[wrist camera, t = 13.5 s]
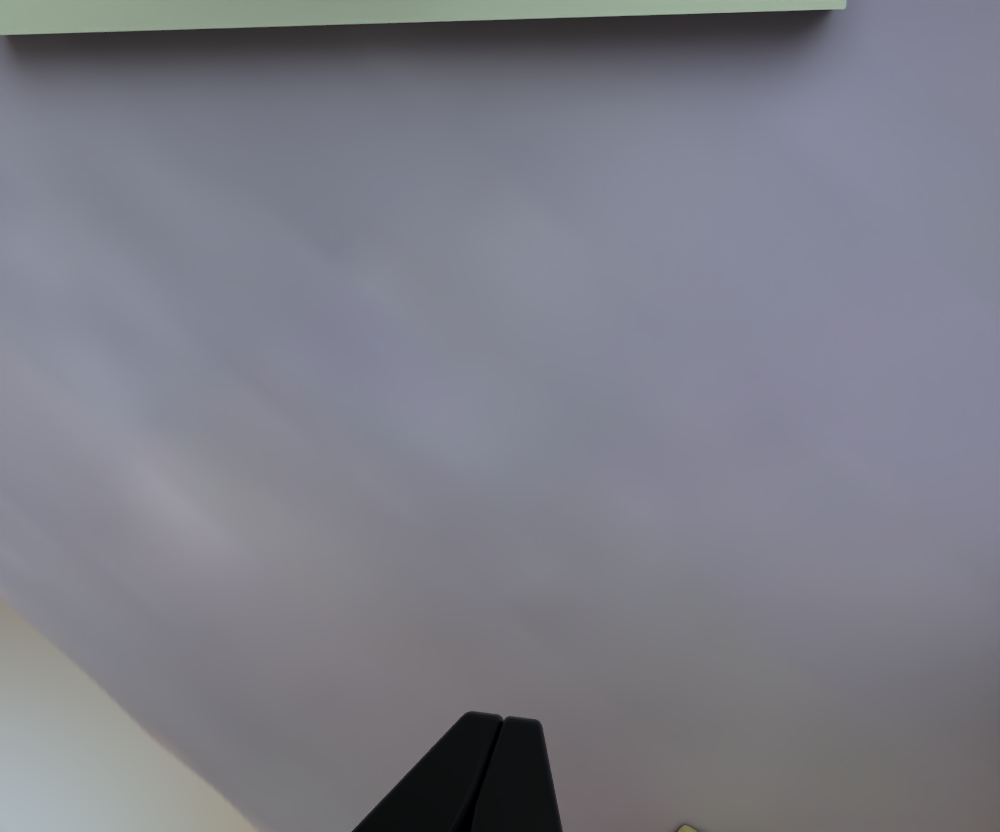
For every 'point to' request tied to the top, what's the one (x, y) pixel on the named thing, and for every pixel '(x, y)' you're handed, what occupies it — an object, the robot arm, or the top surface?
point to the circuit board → (339, 12)
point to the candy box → (686, 829)
